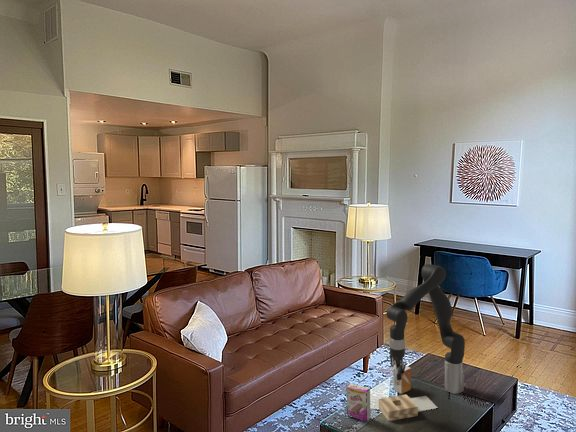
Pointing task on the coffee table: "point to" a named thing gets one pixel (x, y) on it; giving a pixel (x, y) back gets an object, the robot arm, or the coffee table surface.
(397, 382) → the peg
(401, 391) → the small box
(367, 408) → the candy bar box
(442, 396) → the coffee table surface
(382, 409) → the hole block
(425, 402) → the mat
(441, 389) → the coffee table surface
